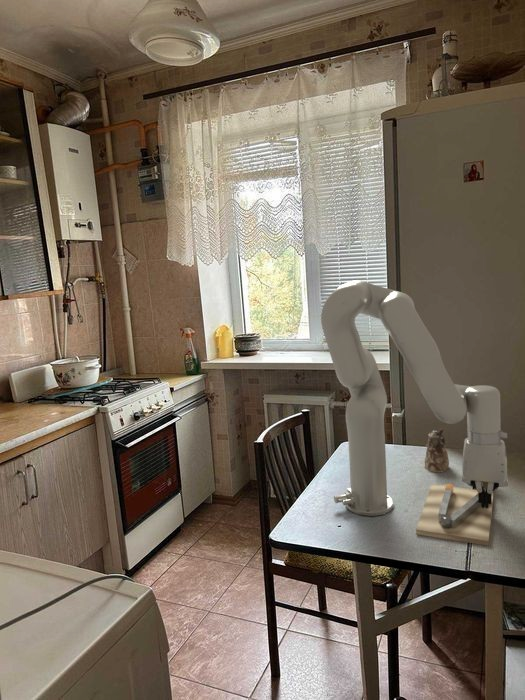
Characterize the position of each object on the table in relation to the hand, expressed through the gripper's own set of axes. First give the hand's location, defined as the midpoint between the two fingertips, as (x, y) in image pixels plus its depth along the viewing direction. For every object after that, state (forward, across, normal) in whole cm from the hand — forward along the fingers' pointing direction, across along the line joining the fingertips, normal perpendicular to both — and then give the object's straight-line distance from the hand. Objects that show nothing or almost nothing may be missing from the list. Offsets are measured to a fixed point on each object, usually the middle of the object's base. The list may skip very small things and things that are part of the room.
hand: (485, 505), depth 132 cm
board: (+2, +7, +2) cm, 7 cm away
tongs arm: (+1, +4, +3) cm, 5 cm away
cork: (+3, +3, -19) cm, 19 cm away
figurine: (+3, +15, -27) cm, 31 cm away
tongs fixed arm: (+1, +9, +1) cm, 9 cm away
